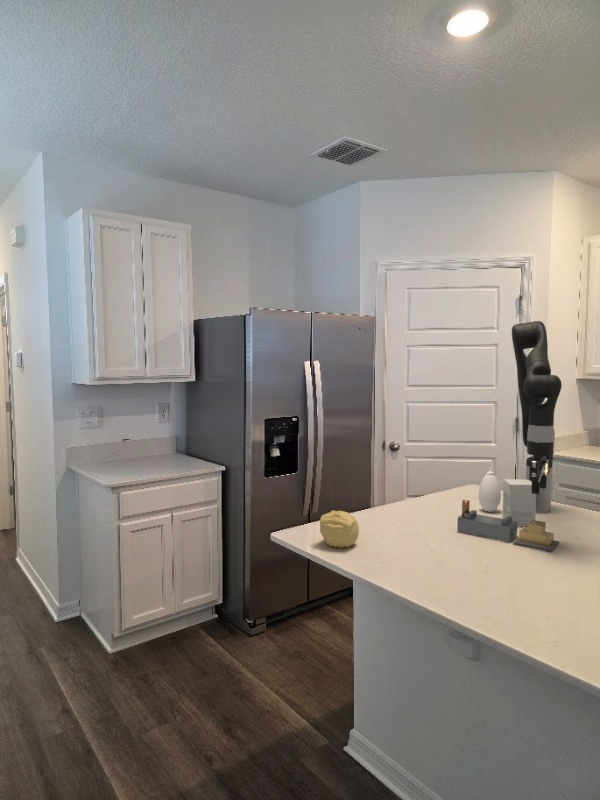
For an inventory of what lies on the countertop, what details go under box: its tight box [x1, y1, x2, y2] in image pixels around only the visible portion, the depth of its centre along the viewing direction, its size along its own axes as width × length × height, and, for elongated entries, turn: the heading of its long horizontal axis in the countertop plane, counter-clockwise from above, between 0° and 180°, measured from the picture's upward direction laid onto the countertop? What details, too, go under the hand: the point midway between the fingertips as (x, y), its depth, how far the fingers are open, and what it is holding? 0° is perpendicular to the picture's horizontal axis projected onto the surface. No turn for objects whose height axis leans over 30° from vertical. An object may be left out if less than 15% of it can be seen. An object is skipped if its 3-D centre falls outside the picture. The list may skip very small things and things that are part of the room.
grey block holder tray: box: [456, 499, 518, 544], centre depth 175 cm, size 8×17×10 cm, turn 52°
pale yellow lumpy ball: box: [319, 510, 360, 549], centre depth 164 cm, size 11×12×11 cm
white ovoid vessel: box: [478, 464, 502, 513], centre depth 202 cm, size 8×8×18 cm
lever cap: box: [518, 520, 555, 547], centre depth 166 cm, size 5×9×6 cm, turn 52°
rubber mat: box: [512, 537, 560, 553], centre depth 166 cm, size 10×11×1 cm
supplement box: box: [502, 478, 537, 527], centre depth 188 cm, size 9×9×15 cm
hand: (539, 490), depth 165 cm, fingers open, 8 cm apart
